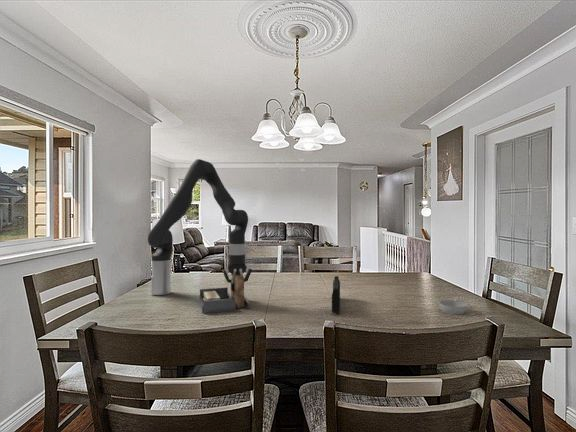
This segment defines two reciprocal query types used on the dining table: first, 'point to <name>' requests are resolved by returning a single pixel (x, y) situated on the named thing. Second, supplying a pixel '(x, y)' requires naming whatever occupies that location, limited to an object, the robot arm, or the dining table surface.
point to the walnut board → (238, 291)
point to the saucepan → (453, 306)
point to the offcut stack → (210, 296)
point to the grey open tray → (219, 301)
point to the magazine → (336, 296)
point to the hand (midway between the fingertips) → (237, 290)
